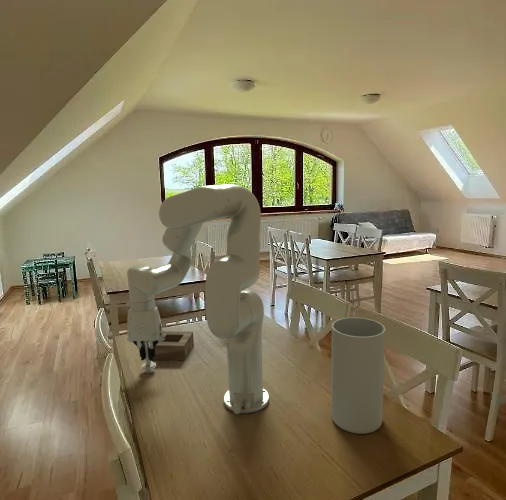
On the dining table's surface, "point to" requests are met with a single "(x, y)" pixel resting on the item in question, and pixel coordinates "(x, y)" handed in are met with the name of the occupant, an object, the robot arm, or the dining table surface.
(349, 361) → the cylinder vase
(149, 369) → the screw
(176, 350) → the socket block
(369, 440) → the dining table surface
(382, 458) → the dining table surface
